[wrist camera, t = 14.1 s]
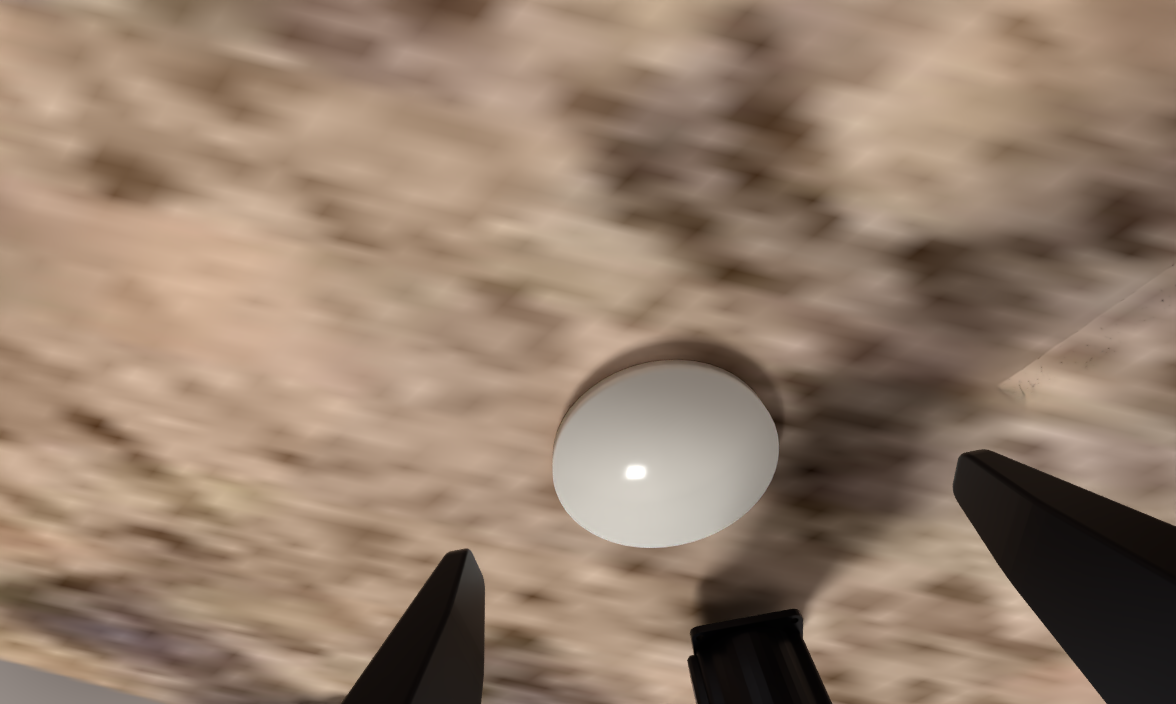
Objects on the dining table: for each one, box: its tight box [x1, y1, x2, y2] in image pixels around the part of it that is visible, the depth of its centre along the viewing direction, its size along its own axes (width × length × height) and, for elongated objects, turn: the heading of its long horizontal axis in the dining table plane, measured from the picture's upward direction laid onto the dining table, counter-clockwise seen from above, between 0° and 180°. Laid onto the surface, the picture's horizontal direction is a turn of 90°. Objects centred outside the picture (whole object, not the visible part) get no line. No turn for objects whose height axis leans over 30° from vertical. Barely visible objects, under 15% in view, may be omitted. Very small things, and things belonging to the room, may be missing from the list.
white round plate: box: [553, 360, 779, 548], centre depth 25 cm, size 11×11×1 cm
